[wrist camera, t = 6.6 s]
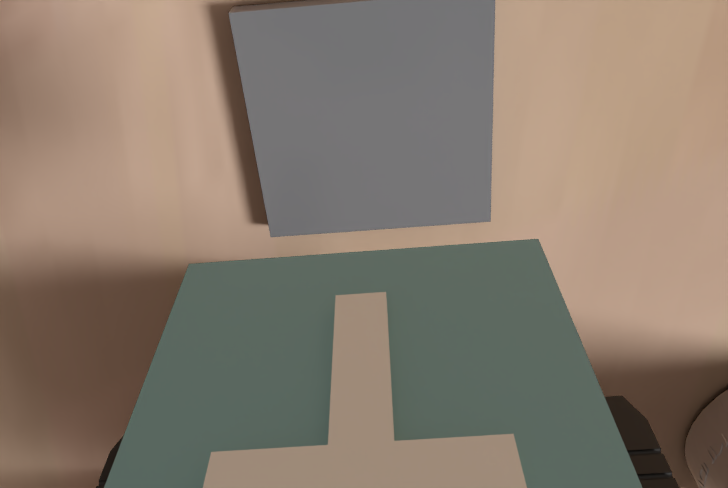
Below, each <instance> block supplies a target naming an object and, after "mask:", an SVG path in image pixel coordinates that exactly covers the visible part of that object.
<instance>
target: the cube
mask: <svg viewBox="0 0 728 488" xmlns="http://www.w3.org/2000/svg"><path fill="white" fill-rule="evenodd" d="M104 488H642V485H641V483H640V481H639V478H638V476H637V473H636V471H635V469H634V466H633V464H632V461H631V459H630V457H629V454H628V452H627V450H626V447H625V445H624V442H623V440H622V438H621V435H620V433H619V430H618V428H617V426H616V423H615V421H614V418H613V416H612V414H611V411H610V409H609V407H608V404H607V402H606V399H605V397H604V395H603V392H602V390H601V387H600V385H599V383H598V380H597V378H596V376H595V373H594V371H593V368H592V366H591V364H590V361H589V359H588V356H587V354H586V352H585V349H584V347H583V344H582V342H581V340H580V337H579V335H578V333H577V330H576V328H575V325H574V323H573V321H572V318H571V316H570V313H569V311H568V309H567V306H566V304H565V301H564V299H563V297H562V294H561V292H560V290H559V287H558V285H557V282H556V280H555V278H554V275H553V273H552V270H551V268H550V266H549V263H548V261H547V259H546V256H545V254H544V251H543V249H542V247H541V244H540V242H539V239H530V240H516V241H502V242H488V243H474V244H460V245H446V246H432V247H418V248H405V249H391V250H377V251H363V252H349V253H335V254H321V255H307V256H293V257H279V258H265V259H251V260H237V261H223V262H210V263H196V264H189V265H188V268H187V271H186V273H185V276H184V279H183V281H182V284H181V286H180V289H179V292H178V294H177V297H176V300H175V302H174V305H173V307H172V310H171V313H170V315H169V318H168V321H167V323H166V326H165V329H164V331H163V334H162V336H161V339H160V342H159V344H158V347H157V350H156V352H155V355H154V357H153V360H152V363H151V365H150V368H149V371H148V373H147V376H146V379H145V381H144V384H143V386H142V389H141V392H140V394H139V397H138V400H137V402H136V405H135V407H134V410H133V413H132V415H131V418H130V421H129V423H128V426H127V429H126V431H125V434H124V436H123V439H122V442H121V444H120V447H119V450H118V452H117V455H116V457H115V460H114V463H113V465H112V468H111V471H110V473H109V476H108V479H107V481H106V484H105V486H104Z"/></svg>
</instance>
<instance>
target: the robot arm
mask: <svg viewBox="0 0 728 488" xmlns="http://www.w3.org/2000/svg"><path fill="white" fill-rule="evenodd" d="M605 399H606V402H607V404H608V407H609V409H610V411H611V414H612V416H613V418H614V421H615V423H616V426H617V428H618V430H619V433H620V435H621V438H622V440H623V442H624V445H625V447H626V450H627V452H628V454H629V457H630V459H631V461H632V464H633V466H634V469H635V471H636V473H637V476H638V478H639V481H640V483H641V485H642V488H679V486H678V484H677V482H676V480H675V478H673V477H672V471H671V469H670V467H669V465H668V463H667V461H666V459H665V457H664V455H663V454H661V448H660V446H659V444H658V442H657V440H656V438H655V435H654V433H653V431H652V429H651V427H650V425H649V423H648V421H647V419H646V418H645V417H644V416H643V415H642V414H641V413H640V412H639V411H638V410H636V409H635V408H634V407H633V406H632V405H631V404H630V403H629V402H628V401H627V400H626V399H625V398H624V397H623V396H611V397H605ZM122 439H123V437H122V438H121V439H120V441H119V442H118V443H117V444H116V445H115V446H114V448H113V449H112V450H111V451H110V453H109V456H108V458H107V461H106V464H105V466H104V469H103V471H102V474H101V476H100V479H99V486H97V487H96V488H104V486H105V484H106V481H107V479H108V476H109V473H110V471H111V468H112V465H113V463H114V460H115V457H116V455H117V452H118V450H119V447H120V444H121V442H122ZM685 457H686V461H687V465H688V467H689V469H690V471H691V473H692V475H693V477H694V479H695V481H696V483H697V485H698V487H699V488H728V390H726V391H725V392H723V393H722V394H720V395H719V396H717V397H716V398H715V399H714V400H713V401H712V402H711V403H710V404H709V405H708V406H707V407H706V408H705V409H704V410H702V412H701V413H700V415H699V416H698V417H697V419H696V420H695V421H694V423H693V424H692V426H691V429H690V431H689V433H688V436H687V438H686V444H685Z"/></svg>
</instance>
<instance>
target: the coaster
mask: <svg viewBox="0 0 728 488" xmlns="http://www.w3.org/2000/svg"><path fill="white" fill-rule="evenodd" d="M229 18H230V24H231V29H232V34H233V40H234V45H235V50H236V55H237V61H238V66H239V71H240V77H241V82H242V87H243V93H244V98H245V103H246V108H247V114H248V119H249V124H250V130H251V135H252V140H253V146H254V151H255V156H256V162H257V167H258V172H259V177H260V183H261V188H262V193H263V199H264V204H265V209H266V215H267V220H268V225H269V230H270V236H271V237H280V236H294V235H308V234H322V233H336V232H350V231H364V230H378V229H392V228H406V227H420V226H434V225H448V224H462V223H477V222H490V220H491V173H492V125H493V78H494V31H495V0H303V1H291V2H280V3H268V4H257V5H246V6H234V7H232V9H231V10H230V11H229Z"/></svg>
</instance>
